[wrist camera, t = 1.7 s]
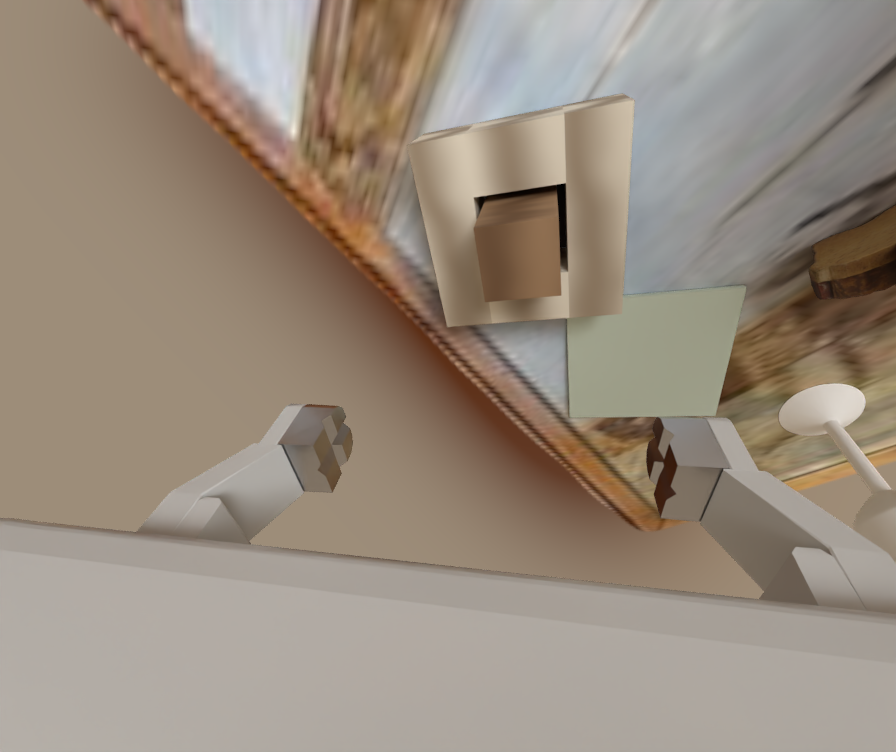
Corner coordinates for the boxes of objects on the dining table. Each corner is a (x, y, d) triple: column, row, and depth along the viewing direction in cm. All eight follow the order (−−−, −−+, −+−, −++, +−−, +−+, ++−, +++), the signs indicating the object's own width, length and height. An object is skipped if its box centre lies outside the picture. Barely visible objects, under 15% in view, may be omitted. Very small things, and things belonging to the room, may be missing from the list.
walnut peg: (555, 176, 32) (558, 216, 24) (558, 240, 34) (561, 295, 27) (490, 187, 33) (473, 228, 25) (498, 248, 36) (484, 302, 28)
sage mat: (744, 284, 34) (746, 287, 33) (713, 412, 42) (715, 415, 41) (566, 300, 37) (566, 302, 37) (569, 414, 45) (569, 417, 45)
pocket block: (622, 93, 28) (634, 99, 24) (613, 285, 36) (622, 313, 32) (424, 133, 31) (406, 145, 28) (457, 300, 39) (447, 326, 36)
